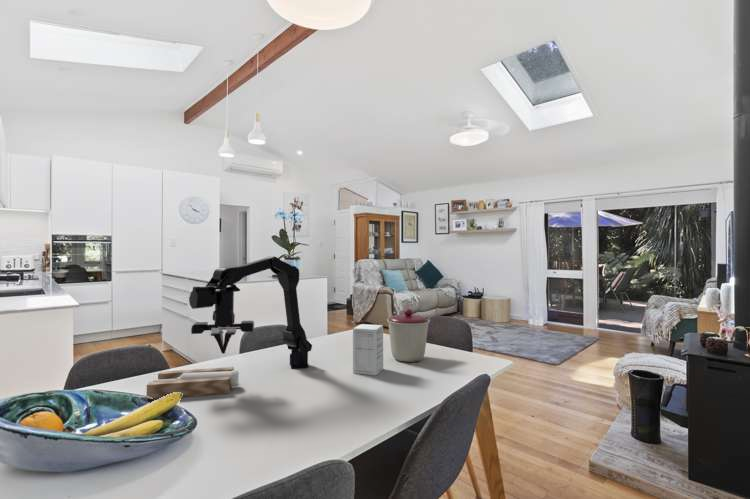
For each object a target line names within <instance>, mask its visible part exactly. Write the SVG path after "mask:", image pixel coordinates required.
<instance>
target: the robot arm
mask: <svg viewBox="0 0 750 499" xmlns="http://www.w3.org/2000/svg"><path fill="white" fill-rule="evenodd" d="M266 270H270V271H271V272H272V273H273V274H275V275H276V276H277V281H278V283H279V285H280V286H281V288H282V290H283V300H284V306H285V307H284V308H285V316H286V322H287V323H286V324H287V326H286V328H285V330H282V335H283V338H282V341H283V342H284V344H285V345H286V346H287V348H288V350H289V351H290V350H291V351H290V352H291V353H289V366H290V368H291V369H303V368H309V352H311V351H312V350H313V349H312V348H313V345H312V343H311V342H310V341H309V340H308V338H307V334H306V331H305V330H304V327H303V326H302V324H301V318H300V310H299V302H298V291H297V287H298V285H299V282H300V270H299V268H298V267H297V266H295V265H291V264H290V263H287V262H285V261H283V260H282V259H280V258H278V257H277V256H267V257H265V258H261V259H257V260H255V261H251V262H248V263H244V264H241V265H238V266H237V265H236V266H234V265H233V266H223V267H222V266H221V267H218V268H216V269H215V270H214V271H213V274H212V277H211V278H210V280H209V281H208V282H207V283H206V285H205V286H192V291H191V292H190V294H189V297H188V300H189V302H188V303H189V306H190V308H191V309H192V310H196V309H205V308H213V306H214V310H213V313H212V321H213V322H214V323H213V324H209V323H208V321H196V322H195V323H194V324H193V325H192V326H191V329H190V331H191V332H190V334H192V335H194V334H195V335H196V334H197V335H198V334H199V335H200V334H203V333H204V332H205V331H210V332H211V333H210V336H211V337H214V338H215V341H216V342H217V344H218V347H219V350H220V352H221V354H223V355H224V354H225V353H226V350H227V348H228V346H229V342H230V339H231V337H232V336H235V335H236V334H237V330H240V331H241V332H243V333H250V332H254V330H255V322H254V321H253V320H241V322H240V323H235V322H236V321H235V318H236V316H235V315H236V314H235V313H234V312H235V311H234V302H235V300H234V298H235V296H234V295H235V292H240V291H241V289H240V288H239V287H238V286H237V285H236V283H238V282H240V281H241V280H242V279H244V278H245V277H249V276H250V275H254V274H257V273H261V272H264V271H266ZM224 331H226V332H225V333H224Z"/></svg>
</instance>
